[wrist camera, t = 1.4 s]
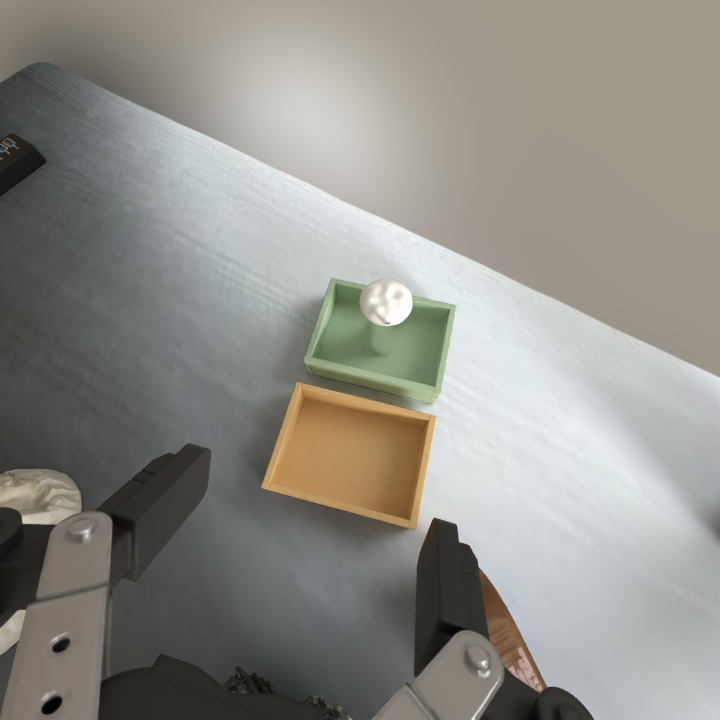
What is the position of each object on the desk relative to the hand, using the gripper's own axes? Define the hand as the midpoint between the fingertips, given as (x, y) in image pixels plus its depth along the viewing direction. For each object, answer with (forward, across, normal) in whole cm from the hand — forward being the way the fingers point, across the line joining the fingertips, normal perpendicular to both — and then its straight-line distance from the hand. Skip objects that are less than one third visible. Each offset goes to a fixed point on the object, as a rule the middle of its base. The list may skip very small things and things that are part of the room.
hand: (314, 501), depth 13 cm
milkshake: (+28, 0, +3) cm, 28 cm away
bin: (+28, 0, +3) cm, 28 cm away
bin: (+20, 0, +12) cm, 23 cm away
